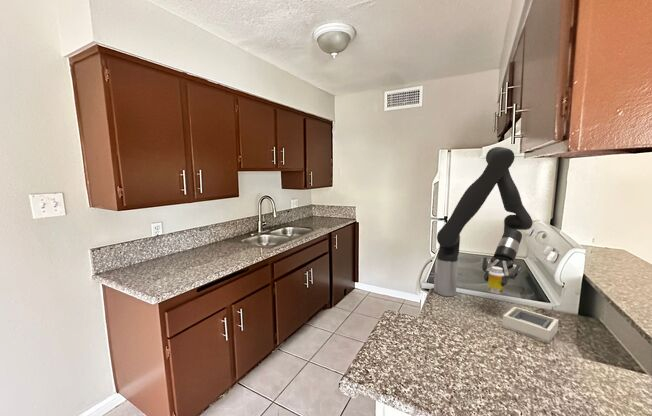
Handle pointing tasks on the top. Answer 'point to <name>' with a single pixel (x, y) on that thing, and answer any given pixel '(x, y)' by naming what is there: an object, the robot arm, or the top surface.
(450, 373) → the top surface
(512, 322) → the box
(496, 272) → the supplement bottle
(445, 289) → the robot arm
